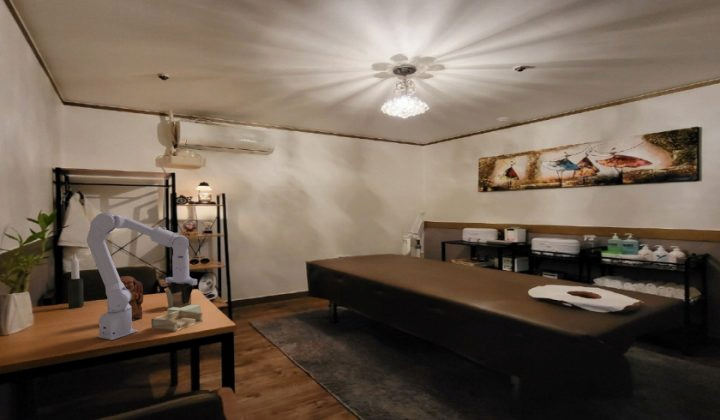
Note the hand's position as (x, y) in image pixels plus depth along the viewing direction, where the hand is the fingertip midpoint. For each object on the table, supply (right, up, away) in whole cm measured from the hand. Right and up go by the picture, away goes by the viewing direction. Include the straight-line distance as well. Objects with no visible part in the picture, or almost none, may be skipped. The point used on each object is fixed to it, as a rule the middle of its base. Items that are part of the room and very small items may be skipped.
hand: (181, 302), depth 142 cm
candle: (-64, -10, +31) cm, 72 cm away
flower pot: (-16, -9, +28) cm, 33 cm away
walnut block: (0, -1, 0) cm, 1 cm away
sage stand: (-6, -9, +15) cm, 19 cm away
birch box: (-2, -9, +1) cm, 9 cm away
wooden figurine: (-26, -10, +8) cm, 29 cm away
